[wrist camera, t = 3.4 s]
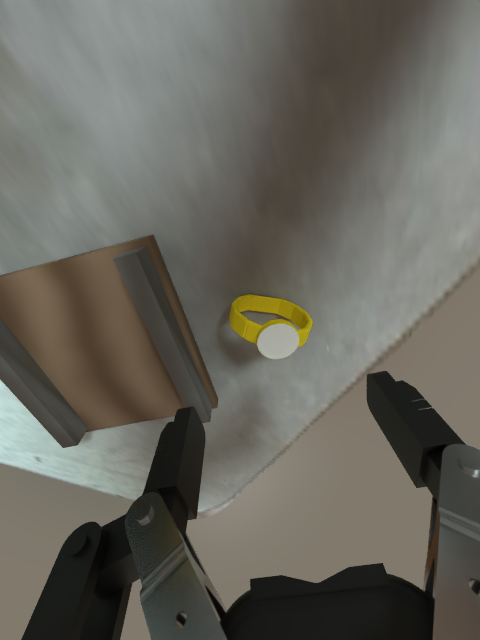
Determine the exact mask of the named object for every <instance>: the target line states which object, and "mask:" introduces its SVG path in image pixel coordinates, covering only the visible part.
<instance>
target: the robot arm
mask: <svg viewBox="0 0 480 640" xmlns="http://www.w3.org/2000/svg"><path fill="white" fill-rule="evenodd" d="M367 403H368V406H369V409H370V411H371V413H372V415H373V416H374V418H375V420H376V421H377V423H378V425H379V426H380V428H381V430H382V431H383V433H384V435H385V436H386V438H387V440H388V441H389V443H390V445H391V446H392V448H393V450H394V451H395V453H396V455H397V456H398V458H399V460H400V461H401V463H402V465H403V466H404V468H405V470H406V471H407V473H408V475H409V476H410V478H411V480H412V481H413V483H414V485H415V486H416V488H420V487H426V486H427V487H428V489H429V490H430V492H431V493H432V495H433V497H432V506H431V518H430V530H429V541H428V552H427V560H426V567H425V574H424V584H423V590H422V589H420V588H419V587H417V586H415V585H414V584H412V583H410V582H408V581H406V580H404V579H402V578H399V577H397V576H394V575H391V574H387V573H386V571H385V568H384V565H383V563H379V564H371V565H362V566H354V567H348V568H346V569H345V570H343V571H341V572H339V573H337V574H335V575H333V576H331V577H329V578H327V579H325V580H324V581H322V582H320V583H312V582H308V581H304V580H300V579H295V578H291V577H286V576H282V575H279V576H272V577H263V578H255V579H250V586H251V590H249V591H247V592H246V593H244V594H243V595H242V596H240V597H239V598H238V599H237V600H236V601H235V602H234V603H233V604H232V606H231V607H230V608H229V609H228V611H227V610H226V608H225V606H224V604H223V602H222V600H221V598H220V596H219V595H218V593H217V591H216V589H215V588H214V586H213V584H212V582H211V581H210V579H209V577H208V575H207V573H206V571H205V569H204V567H203V565H202V563H201V562H200V559H199V557H198V555H197V553H196V551H195V549H194V547H193V545H192V543H191V542H190V539H189V537H188V535H187V533H186V527H187V520H192V519H196V518H197V509H198V501H199V492H200V483H201V474H202V465H203V457H204V448H205V430H204V427H203V424H202V422H201V420H200V418H199V415H198V413H197V411H196V409H195V407H194V406H191V407H186V408H181V409H178V410H177V412H176V415H175V419H174V422H169V423H168V424H167V425H166V426H165V428H164V429H163V431H162V432H161V435H160V438H159V442H158V446H157V448H156V452H155V455H154V459H153V462H152V465H151V469H150V472H149V476H148V479H147V482H146V486H145V489H144V492H143V494H142V496H140V497H139V498H138V499H137V500H136V501H135V502H134V503H133V504H132V505H131V507H130V508H129V510H128V512H127V514H125V515H123V516H122V517H120V518H118V519H116V520H114V521H112V522H110V523H108V524H106V525H104V526H102V527H101V526H100V525H99V524H97V523H96V522H88V523H85V524H83V525H81V526H80V527H79V528H77V529H76V530H75V531H74V532H73V533H72V534H71V535H70V536H69V537H68V538H67V540H66V541H65V543H64V544H63V546H62V548H61V550H60V552H59V554H58V557H57V559H56V561H55V564H54V566H53V568H52V571H51V573H50V575H49V578H48V580H47V582H46V584H45V587H44V589H43V591H42V594H41V596H40V598H39V600H38V603H37V605H36V607H35V610H34V612H33V614H32V616H31V619H30V621H29V624H28V626H27V628H26V630H25V633H24V635H23V637H22V639H21V640H120V637H121V633H122V628H123V624H124V619H125V614H126V610H127V605H128V600H129V596H130V591H131V587H132V583H133V582H134V581H136V580H138V579H141V583H142V590H141V591H140V600H141V605H142V608H143V612H144V615H145V619H146V623H147V626H148V629H149V633H150V637H151V640H480V450H478V449H476V448H474V447H471V446H468V445H466V444H465V443H464V442H463V441H462V440H461V439H460V438H459V437H458V435H457V434H456V433H455V432H454V431H453V430H452V429H451V428H450V427H449V425H448V424H447V423H446V422H445V421H444V420H443V419H442V418H441V416H440V415H439V414H438V413H437V412H436V411H435V410H434V409H432V406H431V405H430V404H429V403H428V402H427V401H426V400H425V399H424V397H423V396H422V395H421V394H420V393H419V392H418V391H417V389H416V388H414V387H413V386H411V385H409V384H408V383H406V382H404V381H403V380H402V381H397V382H396V381H395V380H394V379H393V378H392V377H391V375H390V374H389V373H388V372H387V371H382V372H376V373H371V374H368V375H367Z"/></svg>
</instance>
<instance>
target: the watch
mask: <svg viewBox="0 0 480 640" xmlns="http://www.w3.org/2000/svg"><path fill="white" fill-rule="evenodd" d="M247 310H251V311H258V312H266V313H274V314H278V315H280V316H283V317H285V318H287V319H289V320H291V321H292V322H293V323H295V324H296V325H297V326H298V327H299V328H300V329H298V330H297V329H296V328H295V326H294V325H293V324H292V323H290V322H289V321H286V320H283V319H274V320H271V321H268V322H266V323H265V324H263V325H260V324H257V323H255V322H252V321H250V320H249V319H247V318H246V317H245V316H244V315H242V314H241V313H240V312H244V311H247ZM229 320H230V324H231V327H232V329H233V330H234V331H235V332H237V333H238V334H239V335H240V336H241V337H242V338H245V340H247V341H250V342H252V343H254V344H257V347H258V350H259V351H260V353H261V354H262V355H264V356H265V357H267V358H270V359H282V358H286V357H288V356H289V355H291V354H292V353H293V352H294V351H295V350H296V349H297V347H300V346H303V345H304V344H305V342H306V340H307V338H308V336H309V333H310V330H311V328H312V325H313V321H312V320H311V318H310V316H309V314H308V313H307V312H306V311H304V310H303V309H302V308H300V307H299V306H298V305H296V304H294V303H291V302H289V301H287V300H284V299H279V298H271V297H264V296H257V295H252V294H248V295H244V296H239V297H238V298H236V299H235V301H234V302H233V303H232V306H231V311H230V316H229Z"/></svg>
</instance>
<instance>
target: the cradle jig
mask: <svg viewBox="0 0 480 640" xmlns="http://www.w3.org/2000/svg"><path fill="white" fill-rule="evenodd" d="M0 379H1V381H2V382H3V383H4V384H5V385H6V386H7V387H8V388H9V389H10V390H11V392H12V393H13V394H14V395H15V396H16V397H17V398H18V399H19V400H20V401H21V402H22V404H23V405H24V406H25V407H26V408H27V409H28V410H29V411H30V412H31V413H32V415H33V416H34V417H35V418H36V419H37V420H38V421H39V422H40V423H41V424H42V425H43V427H44V428H45V429H46V430H47V431H48V432H49V433H50V434H51V435H52V436H53V438H54V439H55V440H56V441H57V442H58V443H59V444H60V445H61V446H62V447H63V448H65V447H71V446H76V445H78V444H79V442H80V440H81V439H82V437H83V436H84V434H85V432H88V431H94V430H99V429H104V428H110V427H115V426H121V425H126V424H131V423H137V422H142V421H148V420H153V419H158V418H164V417H169V416H175V415H176V412H177V410H178V409H181V408H186V407H191V406H194V407H195V409H196V411H197V413H198V415H199V418H200V420H201V422H202V423H205V422H210V418H211V409H213V408H217V405H218V397H217V395H216V392H215V390H214V387H213V385H212V382H211V380H210V377H209V374H208V372H207V369H206V367H205V364H204V362H203V359H202V357H201V354H200V352H199V349H198V347H197V344H196V341H195V339H194V336H193V334H192V331H191V329H190V326H189V324H188V321H187V319H186V316H185V314H184V311H183V308H182V306H181V303H180V301H179V298H178V296H177V293H176V291H175V288H174V286H173V283H172V281H171V278H170V276H169V273H168V270H167V268H166V265H165V263H164V260H163V258H162V255H161V253H160V250H159V248H158V245H157V243H156V240H155V237H154V235H150V236H147V237H143V238H139V239H135V240H132V241H128V242H124V243H120V244H117V245H113V246H109V247H105V248H102V249H98V250H94V251H90V252H87V253H83V254H79V255H75V256H72V257H68V258H64V259H60V260H57V261H53V262H49V263H45V264H42V265H38V266H34V267H30V268H27V269H23V270H19V271H15V272H12V273H8V274H4V275H0Z"/></svg>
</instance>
